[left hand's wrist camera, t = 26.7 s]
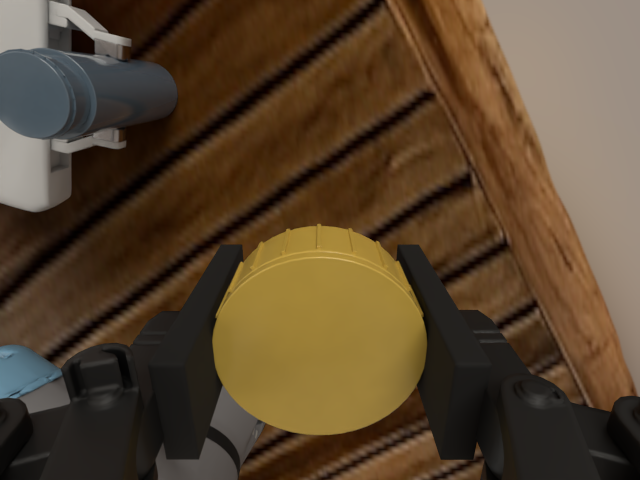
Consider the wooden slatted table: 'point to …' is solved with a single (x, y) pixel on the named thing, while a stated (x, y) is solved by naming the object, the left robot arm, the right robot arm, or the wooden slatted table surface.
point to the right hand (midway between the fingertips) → (125, 95)
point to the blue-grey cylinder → (79, 93)
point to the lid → (319, 332)
